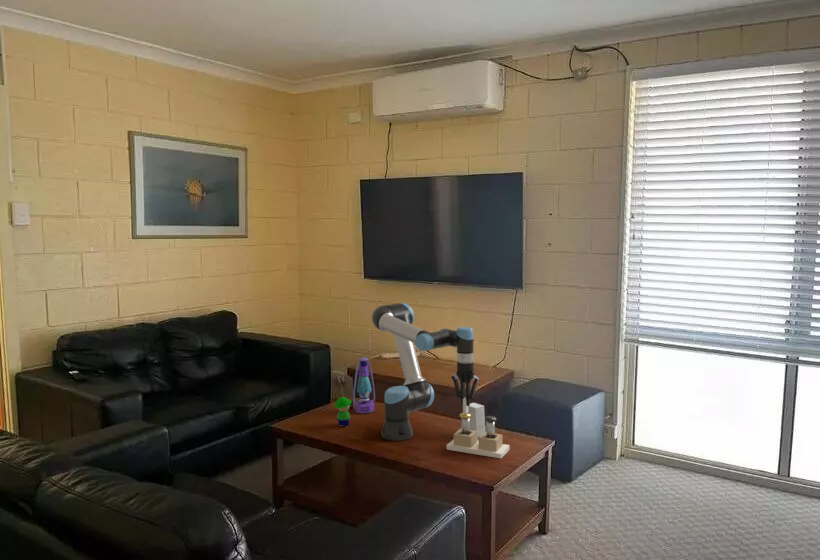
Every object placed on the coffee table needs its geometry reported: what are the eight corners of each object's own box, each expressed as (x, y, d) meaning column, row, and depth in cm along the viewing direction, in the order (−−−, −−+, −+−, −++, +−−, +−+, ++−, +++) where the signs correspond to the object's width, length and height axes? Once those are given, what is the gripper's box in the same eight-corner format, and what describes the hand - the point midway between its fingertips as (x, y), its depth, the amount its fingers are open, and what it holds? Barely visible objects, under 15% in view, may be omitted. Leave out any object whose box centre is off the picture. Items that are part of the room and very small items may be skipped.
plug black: (483, 439, 279) (483, 418, 278) (487, 435, 284) (486, 415, 283) (494, 440, 277) (494, 420, 276) (497, 437, 281) (497, 416, 281)
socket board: (446, 449, 284) (446, 434, 283) (456, 441, 295) (456, 426, 294) (501, 458, 272) (501, 442, 272) (509, 449, 283) (509, 434, 282)
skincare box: (485, 435, 301) (485, 405, 300) (476, 438, 298) (475, 408, 297) (474, 431, 308) (474, 401, 307) (465, 433, 305) (464, 403, 304)
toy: (355, 424, 320) (355, 396, 319) (345, 429, 313) (344, 400, 312) (342, 421, 325) (341, 393, 324) (331, 426, 318) (330, 397, 316)
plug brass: (458, 435, 284) (458, 415, 284) (462, 431, 289) (462, 412, 288) (468, 436, 282) (468, 416, 281) (472, 433, 287) (472, 413, 286)
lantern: (369, 406, 352) (368, 354, 349) (380, 411, 342) (379, 357, 339) (348, 410, 345) (347, 357, 342) (358, 415, 335) (357, 360, 332)
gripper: (448, 362, 282) (449, 413, 284) (475, 364, 276) (476, 416, 278) (455, 358, 289) (455, 408, 291) (481, 361, 283) (481, 411, 285)
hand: (465, 412), depth 285 cm, fingers closed
